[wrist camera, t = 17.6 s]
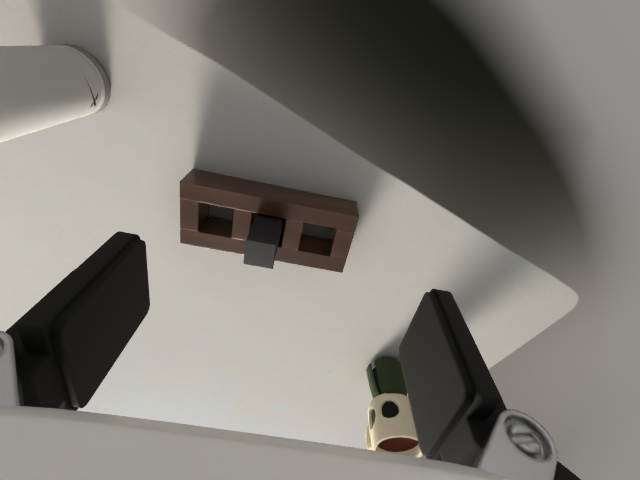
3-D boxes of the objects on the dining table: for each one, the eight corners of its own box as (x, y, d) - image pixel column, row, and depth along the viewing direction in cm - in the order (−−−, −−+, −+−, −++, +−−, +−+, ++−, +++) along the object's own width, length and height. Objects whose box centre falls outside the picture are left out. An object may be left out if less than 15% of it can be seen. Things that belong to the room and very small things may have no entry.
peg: (261, 201, 40) (246, 239, 33) (286, 205, 41) (276, 245, 33) (259, 222, 42) (243, 264, 34) (282, 227, 42) (272, 269, 35)
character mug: (396, 340, 52) (414, 422, 41) (425, 361, 54) (449, 445, 43) (346, 373, 56) (350, 455, 45) (375, 391, 59) (386, 474, 48)
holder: (193, 168, 39) (179, 181, 35) (356, 201, 40) (359, 216, 37) (192, 226, 43) (180, 243, 39) (341, 254, 44) (342, 272, 41)
